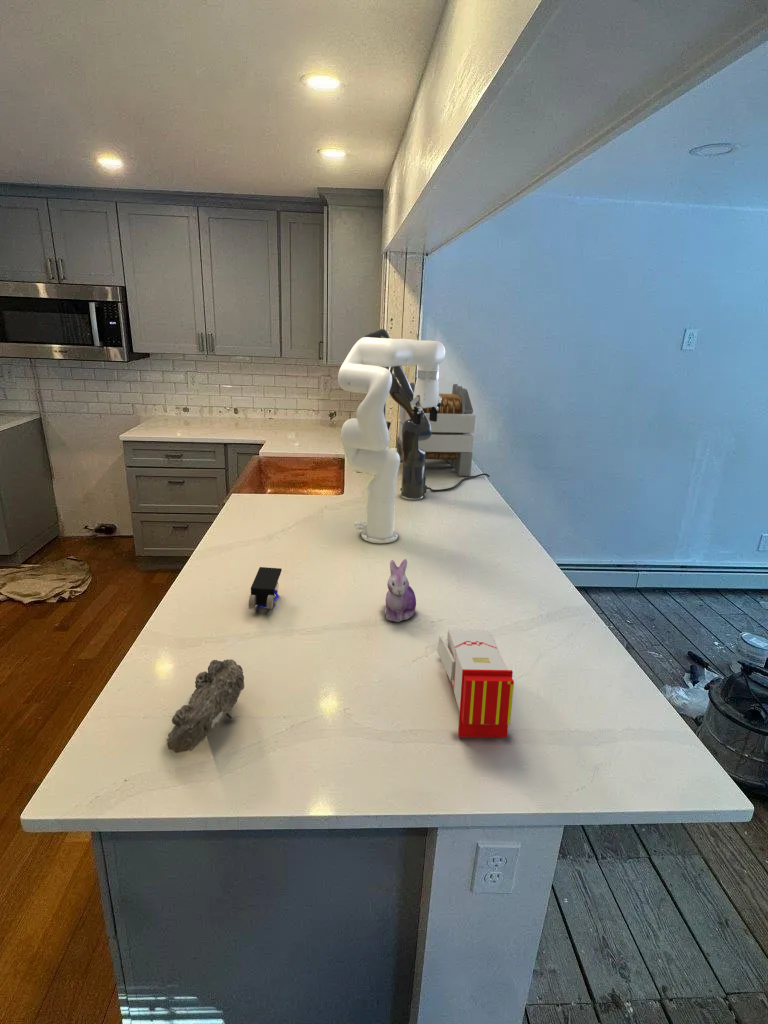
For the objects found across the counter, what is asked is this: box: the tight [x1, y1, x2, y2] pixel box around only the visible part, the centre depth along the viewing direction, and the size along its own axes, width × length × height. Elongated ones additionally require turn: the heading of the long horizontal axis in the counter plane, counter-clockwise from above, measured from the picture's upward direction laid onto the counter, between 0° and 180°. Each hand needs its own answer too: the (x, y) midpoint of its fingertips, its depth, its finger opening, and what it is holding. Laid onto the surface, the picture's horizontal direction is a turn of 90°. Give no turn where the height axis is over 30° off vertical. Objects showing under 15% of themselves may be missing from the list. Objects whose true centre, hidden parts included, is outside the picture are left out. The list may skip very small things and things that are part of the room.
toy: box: [437, 628, 515, 738], centre depth 117 cm, size 12×13×30 cm
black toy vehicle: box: [248, 566, 283, 614], centre depth 148 cm, size 7×8×15 cm
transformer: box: [396, 382, 476, 477], centre depth 280 cm, size 34×33×41 cm
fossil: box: [166, 658, 245, 754], centre depth 106 cm, size 22×10×15 cm
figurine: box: [384, 558, 417, 623], centre depth 145 cm, size 9×10×15 cm
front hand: (424, 422), depth 212 cm, fingers open, 9 cm apart
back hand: (376, 442), depth 281 cm, fingers closed on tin, 4 cm apart
